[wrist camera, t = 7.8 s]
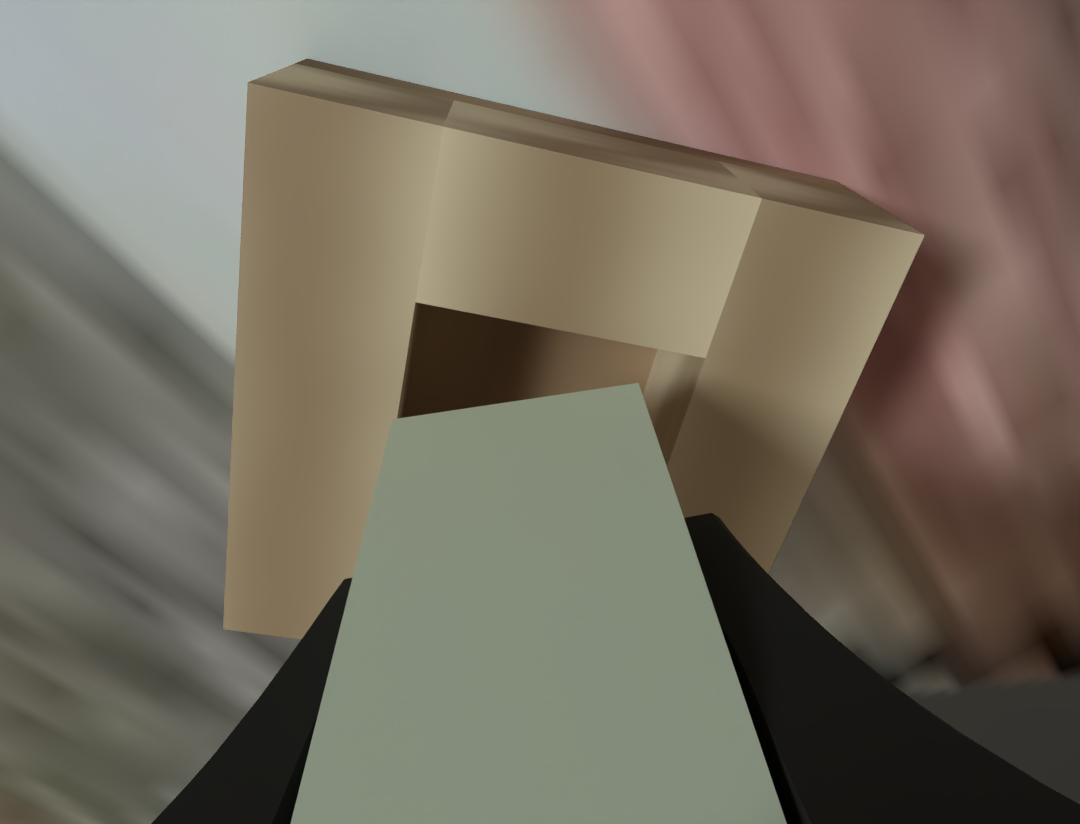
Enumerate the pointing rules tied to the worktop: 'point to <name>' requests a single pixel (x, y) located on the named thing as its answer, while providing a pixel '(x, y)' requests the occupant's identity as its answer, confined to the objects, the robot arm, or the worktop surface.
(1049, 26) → the worktop surface
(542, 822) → the sage peg
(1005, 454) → the worktop surface
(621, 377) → the well block
